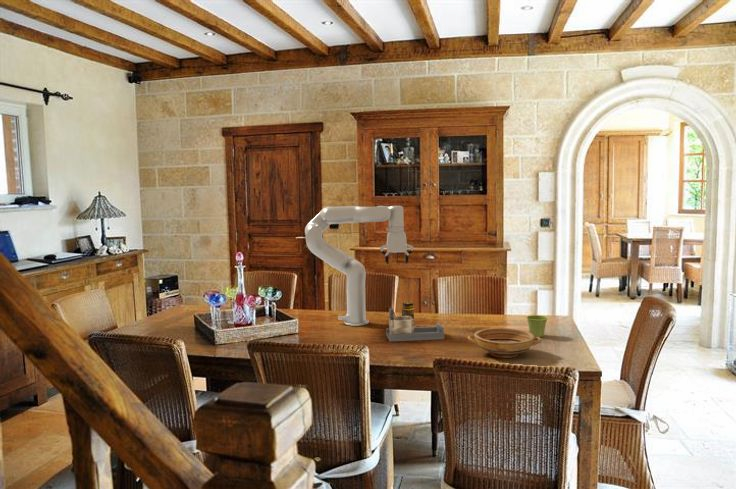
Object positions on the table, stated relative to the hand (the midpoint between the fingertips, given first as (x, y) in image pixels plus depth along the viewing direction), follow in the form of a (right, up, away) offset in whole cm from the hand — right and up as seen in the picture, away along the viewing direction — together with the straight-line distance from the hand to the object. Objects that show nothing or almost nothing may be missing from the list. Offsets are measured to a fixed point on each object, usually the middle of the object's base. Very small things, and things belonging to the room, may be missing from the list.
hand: (396, 263), depth 296 cm
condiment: (+4, -31, -9) cm, 33 cm away
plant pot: (+63, -33, -30) cm, 77 cm away
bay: (+7, -33, -29) cm, 44 cm away
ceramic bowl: (+41, -36, -58) cm, 79 cm away
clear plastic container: (0, -32, -30) cm, 44 cm away
